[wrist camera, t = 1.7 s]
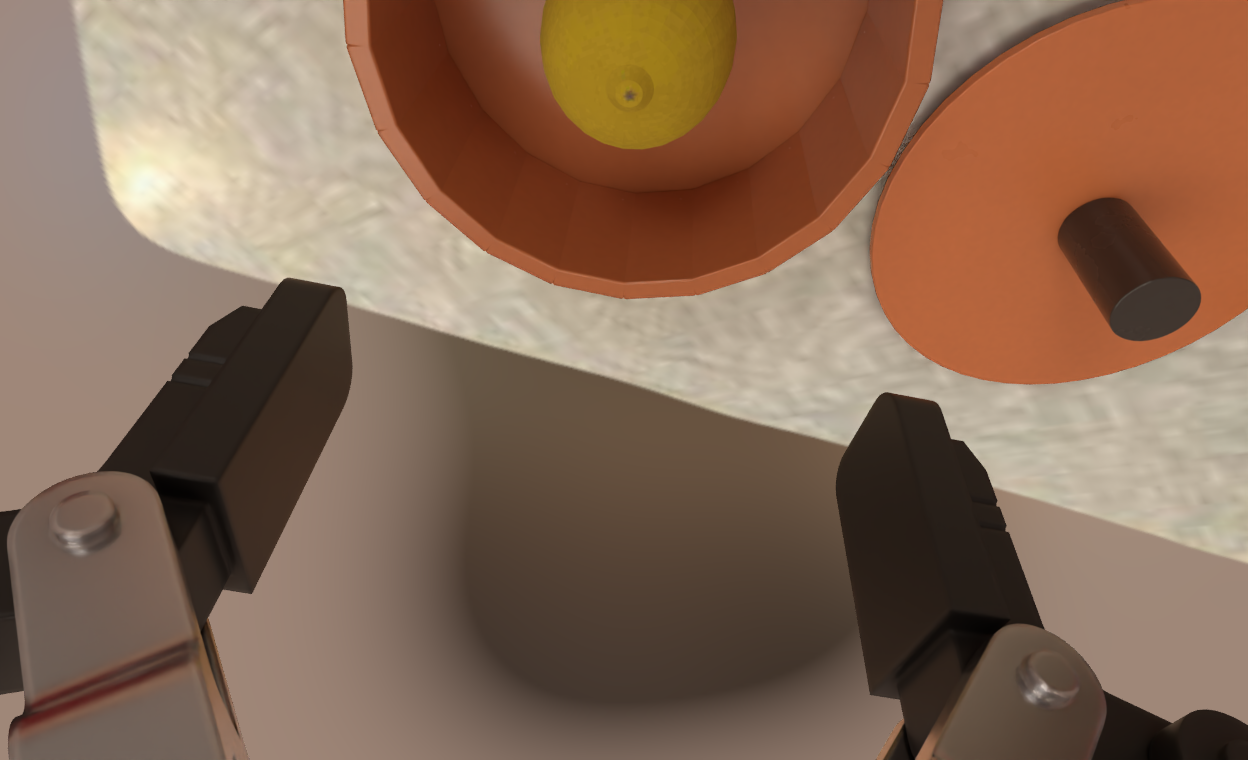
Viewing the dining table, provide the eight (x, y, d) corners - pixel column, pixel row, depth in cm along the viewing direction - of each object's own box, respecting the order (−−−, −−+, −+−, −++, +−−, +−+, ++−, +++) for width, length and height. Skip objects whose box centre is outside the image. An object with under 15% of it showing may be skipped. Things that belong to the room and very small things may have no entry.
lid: (999, -72, 22) (1073, -10, 18) (1473, 49, 24) (1651, 134, 19) (808, 329, 33) (824, 429, 29) (1139, 397, 35) (1203, 502, 30)
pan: (410, -409, 19) (315, -438, 14) (993, -249, 20) (1082, -227, 15) (411, 156, 29) (356, 245, 24) (791, 238, 30) (808, 337, 26)
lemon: (594, 99, 27) (564, 216, 21) (535, -71, 23) (479, 13, 17) (748, 55, 25) (762, 168, 19) (710, -133, 22) (713, -65, 16)
